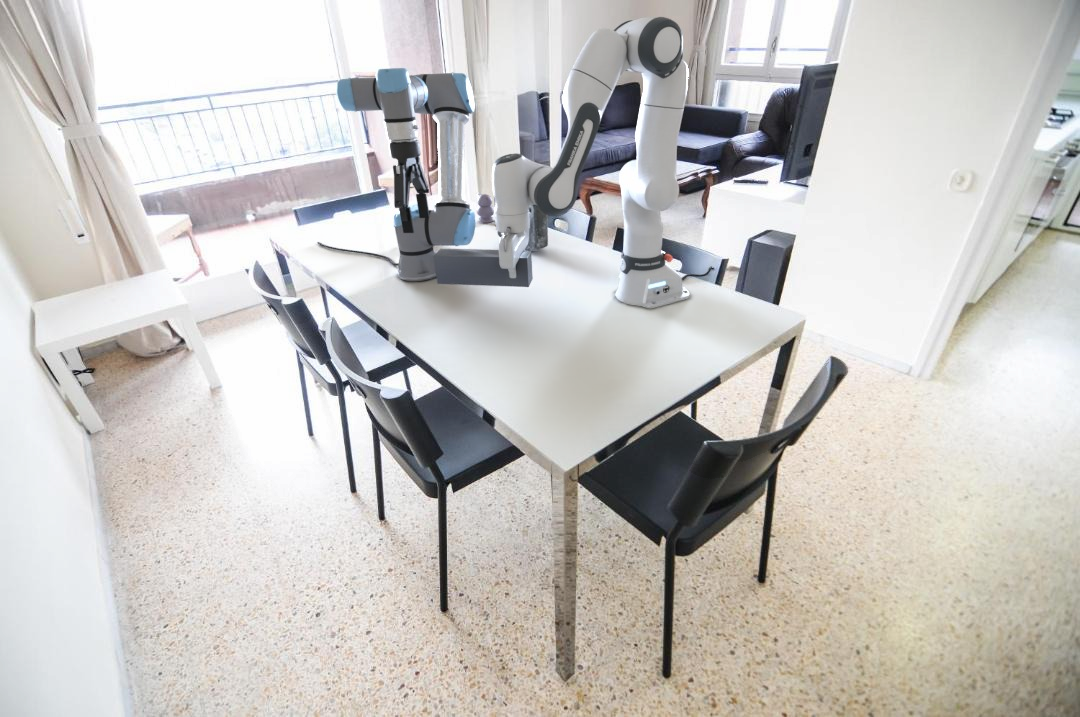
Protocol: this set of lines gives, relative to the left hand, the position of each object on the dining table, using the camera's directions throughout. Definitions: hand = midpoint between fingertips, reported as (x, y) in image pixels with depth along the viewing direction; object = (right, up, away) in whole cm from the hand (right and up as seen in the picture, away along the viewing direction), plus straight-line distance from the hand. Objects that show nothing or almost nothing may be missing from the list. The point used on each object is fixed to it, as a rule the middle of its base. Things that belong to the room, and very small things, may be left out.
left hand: (417, 225), depth 134 cm
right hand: (+27, -13, +1) cm, 30 cm away
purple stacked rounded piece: (+8, +27, +95) cm, 100 cm away
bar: (+18, -15, +4) cm, 24 cm away
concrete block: (+27, +8, +62) cm, 68 cm away
